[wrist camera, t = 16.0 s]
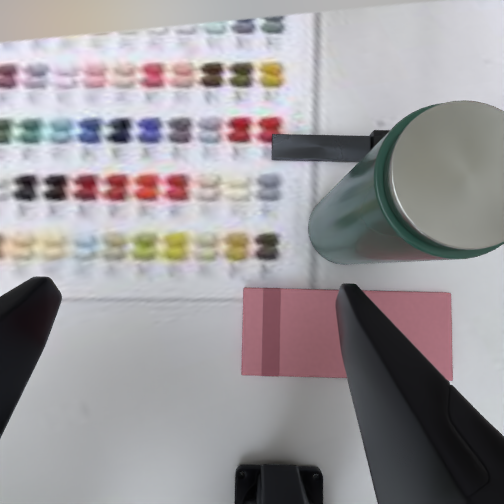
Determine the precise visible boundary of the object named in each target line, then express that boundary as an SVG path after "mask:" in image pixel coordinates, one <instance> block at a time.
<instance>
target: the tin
mask: <svg viewBox="0 0 504 504" xmlns="http://www.w3.org/2000/svg"><path fill="white" fill-rule="evenodd" d="M308 229H309V237H310V240H311V242H312V245H313V246H314V248H315V249H316V251H317V252H318V253H319V254H320V255H321V256H322V257H324V258H325V259H327V260H329V261H331V262H333V263H337V264H343V265H347V264H368V263H389V262H410V261H431V260H452V259H467V258H473V257H477V256H480V255H484V254H486V253H488V252H491V251H493V250H495V249H496V248H498V247H499V246H501V245H503V244H504V111H502V110H500V109H498V108H496V107H494V106H491V105H488V104H485V103H480V102H476V101H453V102H447V103H441V104H436V105H431V106H428V107H424V108H421V109H419V110H417V111H415V112H412V113H411V114H409V115H408V116H406V117H405V118H403V119H402V120H401V121H400V122H398V123H397V124H396V125H395V126H394V127H393V128H392V129H391V130H390V131H389V132H388V133H387V134H386V135H385V136H384V137H383V138H382V139H381V140H380V141H379V142H378V143H377V144H376V145H375V146H374V147H373V148H372V149H371V150H370V151H369V152H368V153H367V155H366V156H365V157H364V158H363V159H362V160H361V161H360V162H359V163H358V164H357V165H356V166H355V167H354V168H353V169H352V170H351V171H350V172H349V173H348V174H347V175H346V176H345V177H344V178H343V179H342V180H341V181H340V182H339V183H338V184H337V185H336V186H335V187H334V188H333V189H332V190H331V191H330V192H329V193H328V194H327V195H326V196H325V197H324V198H323V199H322V200H321V201H320V202H319V203H318V204H317V205H316V207H315V208H314V210H313V212H312V213H311V216H310V219H309V226H308Z"/></svg>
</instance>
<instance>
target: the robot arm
mask: <svg viewBox="0 0 504 504" xmlns="http://www.w3.org/2000/svg"><path fill="white" fill-rule="evenodd" d="M61 300H62V295H61V293H60V291H59V290H58V288H57V287H56V285H55V284H54V282H53V281H52V279H51V278H49V277H33V278H31V279H29V280H27V281H26V282H24V283H22V284H21V285H19V286H17V287H16V288H14V289H12V290H11V291H9V292H7V293H6V294H4V295H2V296H1V297H0V438H1V436H2V434H3V432H4V430H5V428H6V426H7V424H8V422H9V419H10V417H11V415H12V413H13V411H14V409H15V407H16V405H17V403H18V401H19V399H20V397H21V395H22V393H23V391H24V389H25V387H26V384H27V382H28V380H29V378H30V376H31V374H32V372H33V370H34V368H35V366H36V364H37V362H38V360H39V358H40V356H41V354H42V351H43V349H44V347H45V345H46V342H47V340H48V337H49V334H50V331H51V329H52V326H53V323H54V320H55V318H56V315H57V312H58V309H59V306H60V304H61ZM335 308H336V316H337V324H338V332H339V340H340V348H341V354H342V359H343V363H344V367H345V371H346V375H347V379H348V383H349V388H350V392H351V396H352V400H353V404H354V408H355V412H356V416H357V420H358V424H359V428H360V432H361V437H362V441H363V445H364V449H365V453H366V457H367V461H368V465H369V469H370V473H371V477H372V481H373V486H374V490H375V494H376V498H377V502H378V504H504V436H503V435H502V434H501V433H500V432H499V431H498V430H497V429H496V428H494V427H493V426H492V425H491V424H490V423H489V422H488V421H487V420H486V419H485V418H484V417H483V416H482V415H481V414H480V413H479V412H478V411H477V410H476V409H475V408H474V407H473V406H472V405H471V404H470V403H469V402H468V401H467V400H466V399H465V398H464V397H463V396H462V395H461V394H460V393H459V392H458V390H457V389H456V388H455V387H454V386H453V385H450V383H449V381H448V380H447V379H446V378H445V377H444V376H443V375H442V374H441V373H440V372H439V371H438V370H437V369H436V368H435V367H434V365H433V364H432V363H431V362H430V361H429V360H428V359H427V358H426V357H425V356H424V355H423V354H422V353H421V352H420V351H419V350H418V349H417V348H416V347H415V346H414V345H413V343H412V342H411V341H410V340H409V339H408V338H407V337H406V336H405V335H404V334H403V333H402V332H401V331H400V330H399V329H398V328H397V327H396V326H395V325H394V324H393V323H392V321H391V320H390V319H389V318H388V317H387V316H386V315H385V314H384V313H383V312H382V311H381V310H380V309H379V308H378V307H377V306H376V305H375V304H374V303H373V302H372V300H371V299H370V298H369V297H368V296H367V295H366V294H365V293H364V292H363V291H362V290H361V289H360V288H359V287H358V286H357V285H356V284H342V285H341V286H340V289H339V292H338V295H337V298H336V302H335ZM240 472H244V473H245V474H244V475H241V474H240ZM314 474H318V476H317V477H313V475H314ZM235 504H323V475H322V472H321V470H320V469H319V468H318V467H306V466H296V465H272V464H264V465H239V466H238V467H237V469H236V475H235Z"/></svg>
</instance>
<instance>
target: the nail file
mask: <svg viewBox="0 0 504 504" xmlns="http://www.w3.org/2000/svg"><path fill="white" fill-rule="evenodd" d="M388 132H389V130H374V131H373V132H372V133H371V134H370V136H339V135H289V134H272V160H304V161H352V162H360V161H361V160H362V159H363V158H364V157H365V156H366V155H367V153H368V152H369V151H370V150H371V149H372V148H373V147H374V146H375V145H376V144H377V143H378V142H379V141H380V140H381V139H382V138H383V137H384V136H385V135H386V134H387V133H388Z"/></svg>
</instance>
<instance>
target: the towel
mask: <svg viewBox="0 0 504 504" xmlns="http://www.w3.org/2000/svg"><path fill="white" fill-rule="evenodd" d="M362 291H363V292H364V293H365V294H366V295H367V296H368V297H369V298H370V299H371V300H372V302H373V303H374V304H375V305H376V306H377V307H378V308H379V309H380V310H381V311H382V312H383V313H384V314H385V315H386V316H387V317H388V318H389V319H390V320H391V321H392V323H393V324H394V325H395V326H396V327H397V328H398V329H399V330H400V331H401V332H402V333H403V334H404V335H405V336H406V337H407V338H408V339H409V340H410V341H411V342H412V343H413V345H414V346H415V347H416V348H417V349H418V350H419V351H420V352H421V353H422V354H423V355H424V356H425V357H426V358H427V359H428V360H429V361H430V362H431V363H432V364H433V365H434V367H435V368H436V369H437V370H438V371H439V372H440V373H441V374H442V375H443V376H444V377H445V378H446V379H447V380H448V381H452V380H453V371H452V318H451V293H446V292H405V291H364V290H362ZM338 292H339V290H323V289H281V288H244V293H243V333H242V372H241V374H242V375H257V376H295V377H332V378H347V375H346V371H345V367H344V363H343V359H342V354H341V348H340V340H339V332H338V324H337V316H336V308H335V302H336V298H337V295H338Z"/></svg>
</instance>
